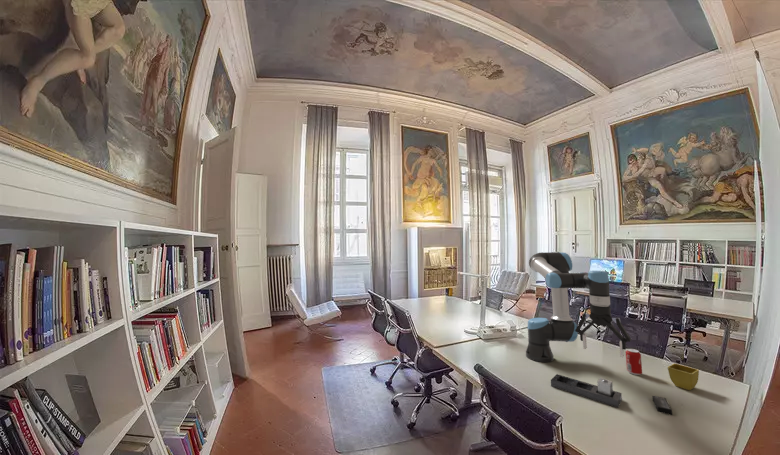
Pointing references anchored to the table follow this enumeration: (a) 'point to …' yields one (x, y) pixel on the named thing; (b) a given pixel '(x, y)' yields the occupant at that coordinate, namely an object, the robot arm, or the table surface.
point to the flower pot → (683, 376)
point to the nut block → (605, 387)
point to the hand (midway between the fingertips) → (602, 352)
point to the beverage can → (633, 362)
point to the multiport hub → (662, 405)
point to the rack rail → (585, 390)
